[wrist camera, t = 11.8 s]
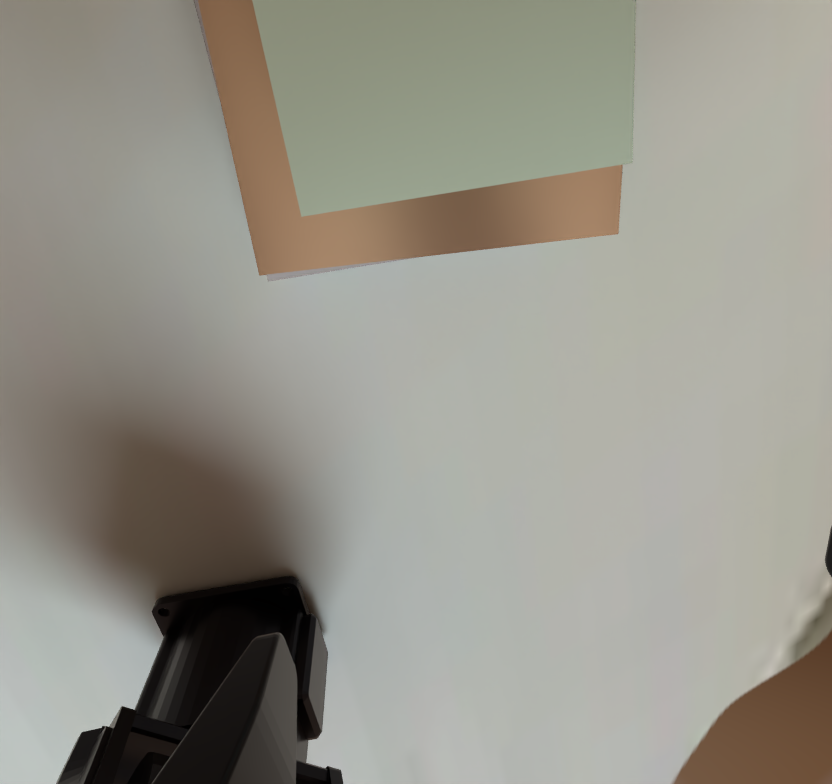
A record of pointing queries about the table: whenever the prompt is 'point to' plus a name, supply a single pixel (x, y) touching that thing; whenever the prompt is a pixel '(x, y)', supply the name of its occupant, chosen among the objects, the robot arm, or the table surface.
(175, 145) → the table surface
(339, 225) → the top slab
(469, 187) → the green cube
